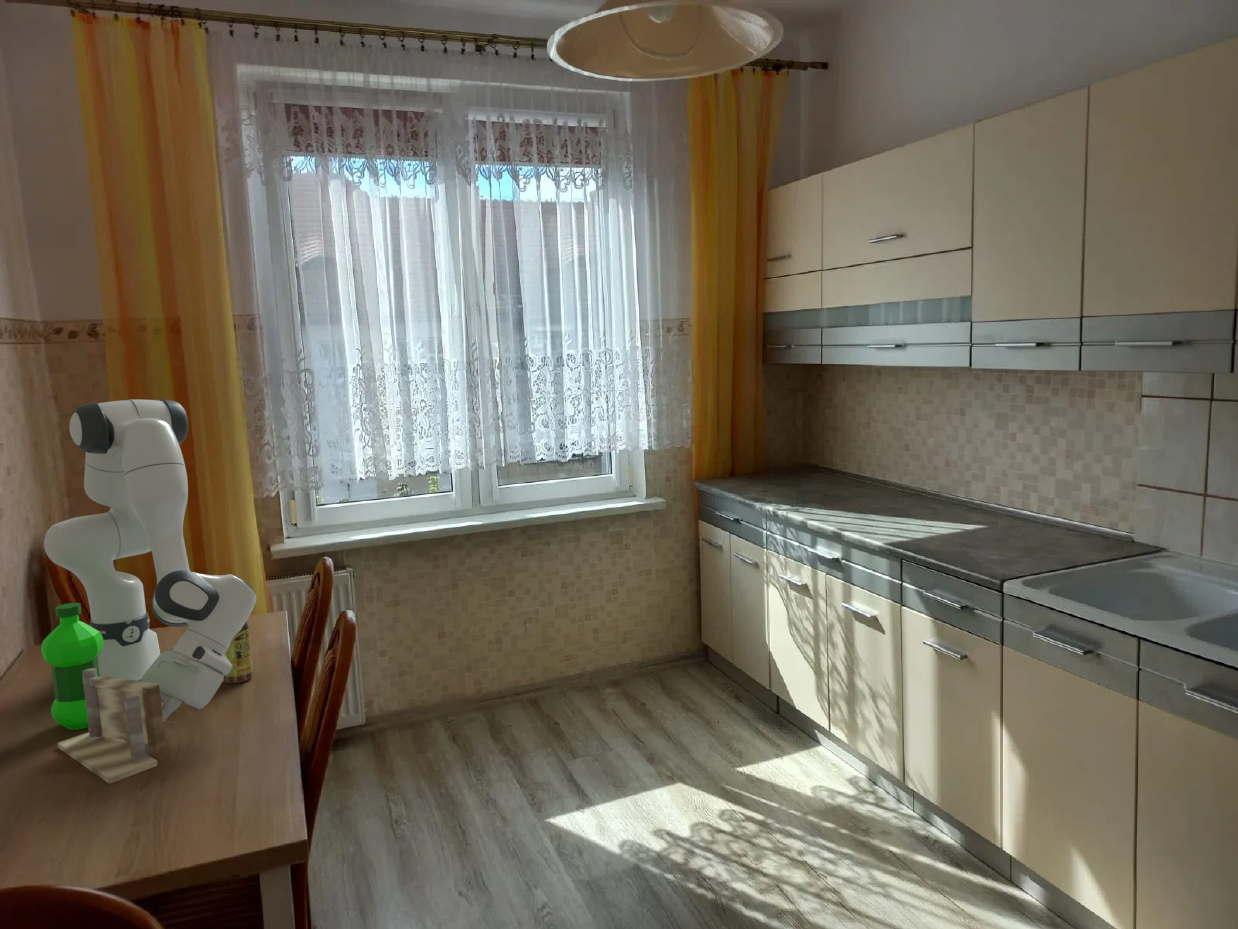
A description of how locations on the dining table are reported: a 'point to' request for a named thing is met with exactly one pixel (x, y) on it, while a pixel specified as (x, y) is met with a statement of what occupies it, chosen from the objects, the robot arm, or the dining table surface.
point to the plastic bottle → (71, 664)
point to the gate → (112, 709)
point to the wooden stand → (110, 743)
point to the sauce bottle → (240, 657)
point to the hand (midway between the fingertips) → (154, 719)
